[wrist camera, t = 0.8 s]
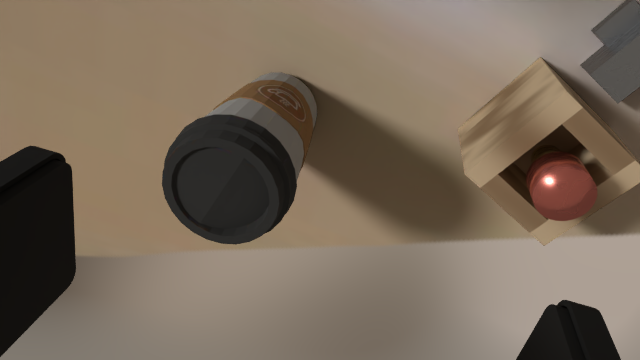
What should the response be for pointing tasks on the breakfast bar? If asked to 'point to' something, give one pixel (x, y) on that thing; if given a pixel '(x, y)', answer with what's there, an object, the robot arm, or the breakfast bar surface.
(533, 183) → the button
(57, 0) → the breakfast bar surface
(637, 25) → the guide rail
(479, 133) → the small open wooden box
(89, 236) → the breakfast bar surface
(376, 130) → the breakfast bar surface
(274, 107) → the coffee cup
